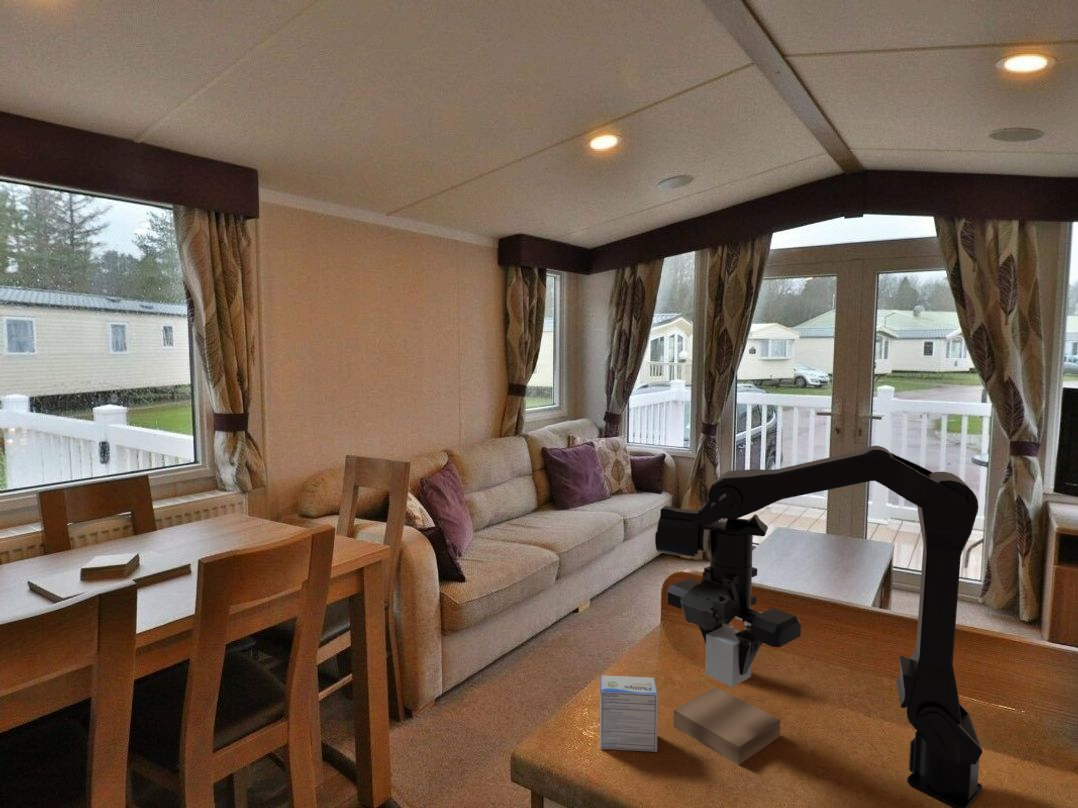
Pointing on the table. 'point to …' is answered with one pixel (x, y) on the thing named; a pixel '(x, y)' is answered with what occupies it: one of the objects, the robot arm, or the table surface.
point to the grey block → (724, 656)
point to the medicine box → (628, 713)
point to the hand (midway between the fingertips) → (728, 667)
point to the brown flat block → (727, 725)
